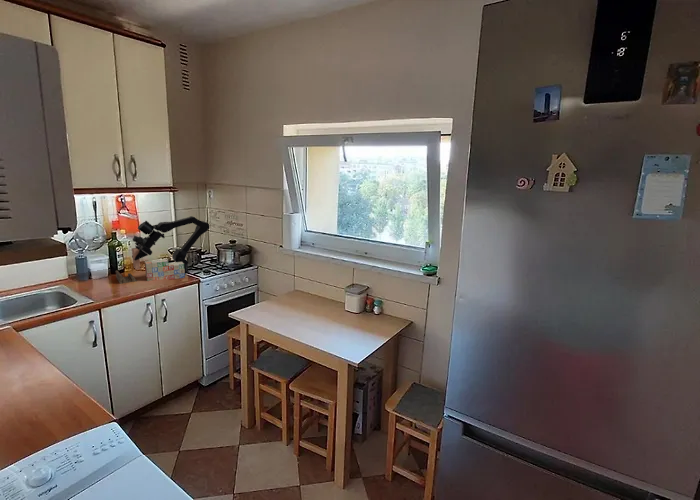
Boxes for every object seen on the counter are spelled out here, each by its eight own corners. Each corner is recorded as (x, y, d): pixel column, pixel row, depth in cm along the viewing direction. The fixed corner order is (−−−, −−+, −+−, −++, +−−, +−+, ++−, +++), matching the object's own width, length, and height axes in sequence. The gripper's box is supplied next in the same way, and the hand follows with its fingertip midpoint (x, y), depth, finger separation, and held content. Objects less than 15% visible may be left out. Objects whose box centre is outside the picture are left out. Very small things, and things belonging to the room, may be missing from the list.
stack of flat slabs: (133, 277, 234) (132, 268, 233) (137, 282, 226) (136, 273, 224) (116, 279, 229) (115, 270, 227) (120, 285, 220) (119, 275, 218)
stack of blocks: (182, 275, 243) (181, 257, 241) (185, 277, 238) (183, 259, 236) (145, 280, 231) (144, 260, 228) (147, 282, 226) (145, 263, 223)
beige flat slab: (138, 266, 232) (136, 247, 229) (140, 268, 228) (138, 249, 225) (133, 267, 231) (131, 248, 228) (135, 269, 226) (133, 250, 223)
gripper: (137, 228, 233) (118, 247, 229) (144, 233, 219) (125, 254, 215) (152, 239, 240) (134, 258, 236) (160, 245, 226) (141, 265, 222)
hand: (133, 258), depth 227 cm, fingers closed on beige flat slab, 6 cm apart
